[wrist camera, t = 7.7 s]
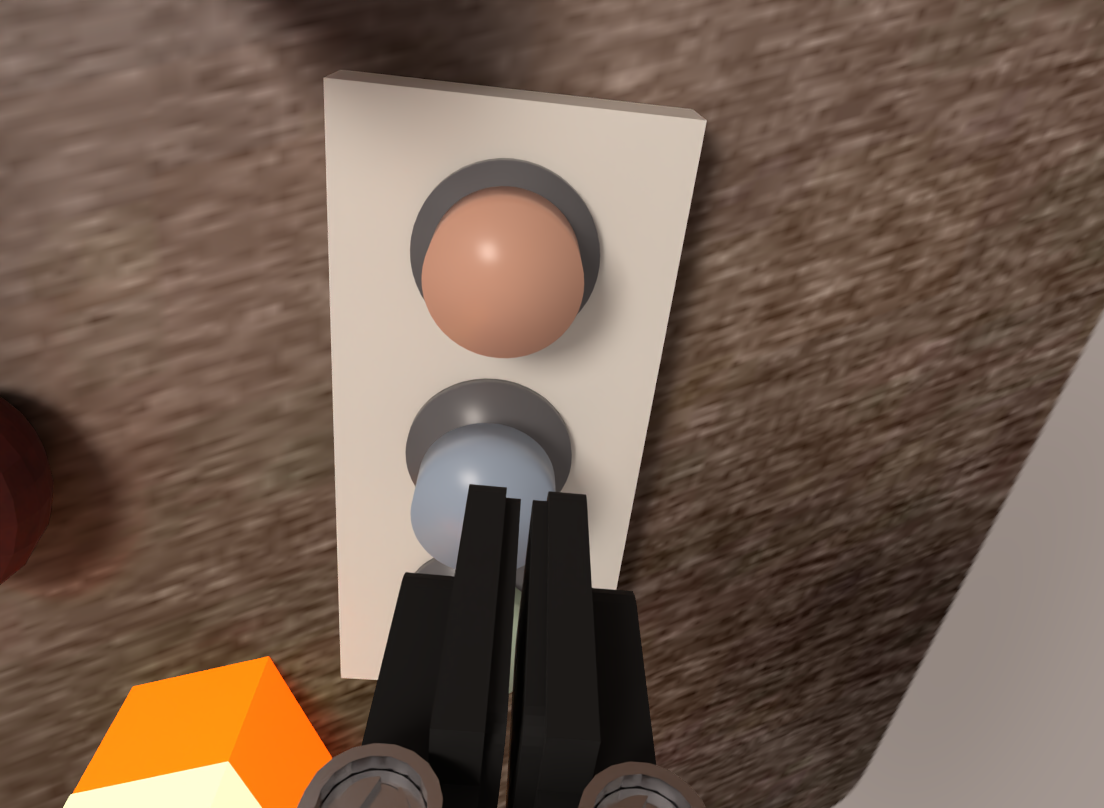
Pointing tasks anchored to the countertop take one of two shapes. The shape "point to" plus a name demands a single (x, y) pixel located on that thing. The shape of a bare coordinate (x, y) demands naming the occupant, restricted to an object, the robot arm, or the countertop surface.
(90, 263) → the countertop surface
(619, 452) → the button panel
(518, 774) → the robot arm
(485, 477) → the slate button
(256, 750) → the orange juice
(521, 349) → the terracotta button
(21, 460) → the potato
